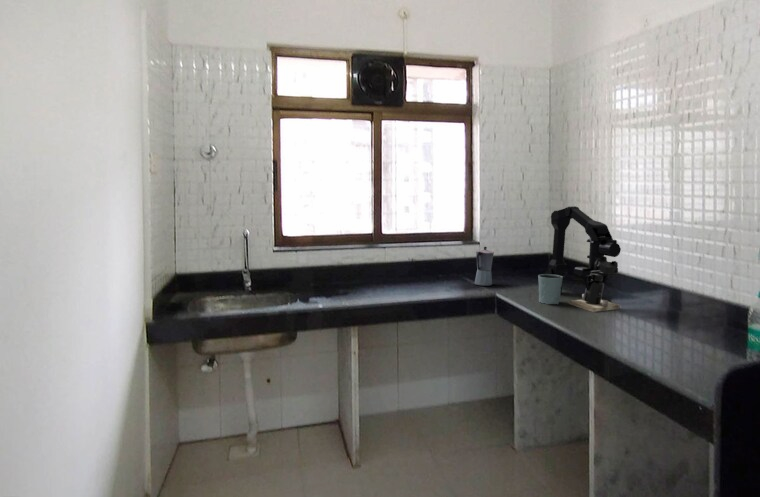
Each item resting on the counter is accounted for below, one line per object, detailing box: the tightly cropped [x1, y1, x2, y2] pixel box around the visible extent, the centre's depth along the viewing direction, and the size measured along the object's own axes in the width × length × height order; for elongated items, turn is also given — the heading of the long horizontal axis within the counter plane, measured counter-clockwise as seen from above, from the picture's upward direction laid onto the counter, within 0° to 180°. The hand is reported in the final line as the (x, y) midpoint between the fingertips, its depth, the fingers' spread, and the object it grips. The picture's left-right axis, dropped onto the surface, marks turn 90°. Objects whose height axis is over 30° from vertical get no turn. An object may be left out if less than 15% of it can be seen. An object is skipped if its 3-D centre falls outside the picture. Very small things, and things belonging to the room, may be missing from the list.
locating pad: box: [569, 293, 621, 313], centre depth 210 cm, size 14×14×4 cm
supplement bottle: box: [583, 272, 605, 304], centre depth 209 cm, size 7×7×12 cm
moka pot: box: [474, 246, 494, 287], centre depth 256 cm, size 10×15×20 cm, turn 148°
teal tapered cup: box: [537, 273, 563, 305], centre depth 217 cm, size 10×10×12 cm
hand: (595, 290), depth 209 cm, fingers closed on supplement bottle, 6 cm apart
